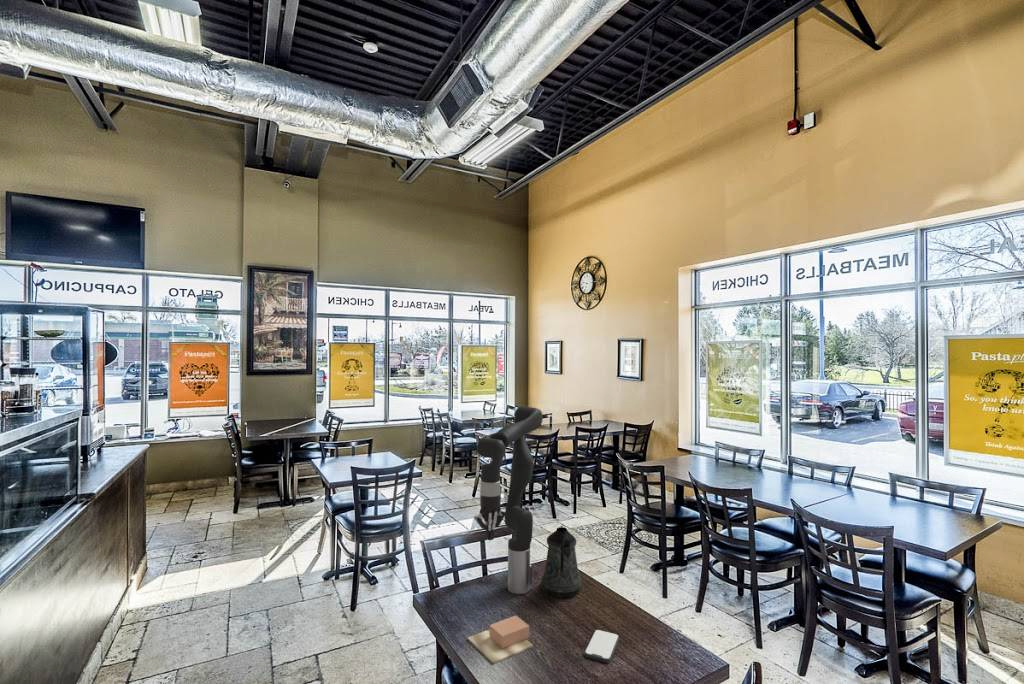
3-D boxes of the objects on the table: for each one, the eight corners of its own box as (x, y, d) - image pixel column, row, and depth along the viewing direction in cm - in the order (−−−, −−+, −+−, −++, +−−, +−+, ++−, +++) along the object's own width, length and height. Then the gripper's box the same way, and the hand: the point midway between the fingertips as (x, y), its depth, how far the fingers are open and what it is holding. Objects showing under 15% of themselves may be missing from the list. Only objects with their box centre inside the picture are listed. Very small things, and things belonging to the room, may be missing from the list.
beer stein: (563, 575, 216) (564, 518, 216) (594, 594, 200) (595, 532, 200) (533, 585, 206) (534, 526, 207) (563, 606, 190) (564, 541, 191)
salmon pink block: (515, 615, 175) (489, 625, 168) (529, 625, 168) (502, 636, 162) (515, 627, 174) (489, 637, 168) (529, 638, 168) (502, 649, 162)
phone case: (595, 633, 174) (582, 658, 159) (595, 628, 174) (582, 653, 159) (620, 639, 170) (610, 665, 155) (620, 634, 170) (610, 660, 155)
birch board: (506, 624, 177) (506, 622, 177) (533, 647, 164) (533, 645, 164) (467, 639, 168) (467, 637, 168) (492, 664, 155) (492, 662, 155)
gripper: (499, 487, 189) (499, 532, 188) (469, 493, 181) (469, 540, 181) (510, 492, 182) (510, 539, 182) (480, 498, 175) (479, 547, 175)
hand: (490, 539), depth 181 cm, fingers closed
